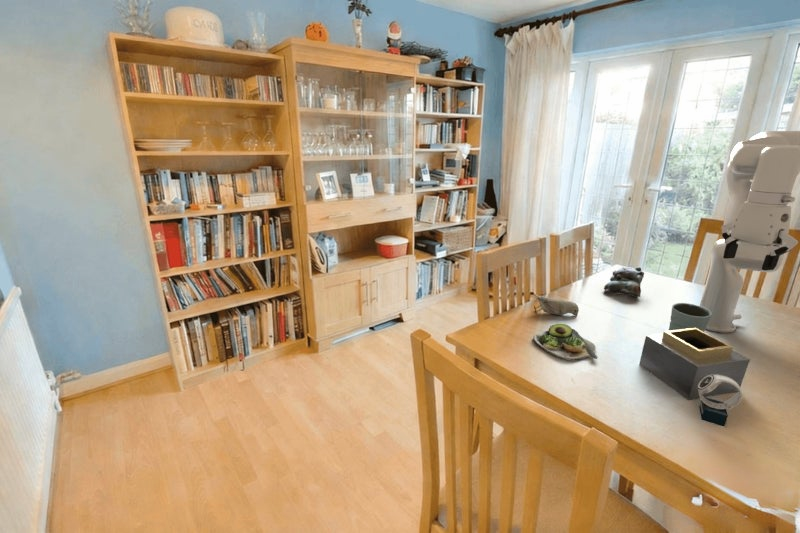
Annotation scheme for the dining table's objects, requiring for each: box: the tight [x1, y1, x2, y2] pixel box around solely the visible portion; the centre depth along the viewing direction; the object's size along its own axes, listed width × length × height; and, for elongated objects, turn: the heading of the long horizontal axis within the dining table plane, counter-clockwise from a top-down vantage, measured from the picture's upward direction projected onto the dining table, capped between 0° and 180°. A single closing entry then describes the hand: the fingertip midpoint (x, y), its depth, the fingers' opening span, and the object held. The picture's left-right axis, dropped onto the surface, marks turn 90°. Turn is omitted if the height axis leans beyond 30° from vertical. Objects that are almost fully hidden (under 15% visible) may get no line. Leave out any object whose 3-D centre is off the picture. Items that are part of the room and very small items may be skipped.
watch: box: [697, 374, 743, 428], centre depth 89 cm, size 6×8×11 cm
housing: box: [638, 328, 751, 401], centre depth 103 cm, size 16×16×12 cm
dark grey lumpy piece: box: [602, 266, 645, 298], centre depth 159 cm, size 15×12×14 cm
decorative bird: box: [533, 294, 580, 317], centre depth 142 cm, size 5×16×8 cm, turn 78°
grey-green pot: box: [667, 302, 712, 332], centre depth 121 cm, size 10×10×12 cm
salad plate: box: [533, 323, 598, 361], centre depth 120 cm, size 19×18×5 cm
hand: (747, 263), depth 98 cm, fingers open, 9 cm apart
